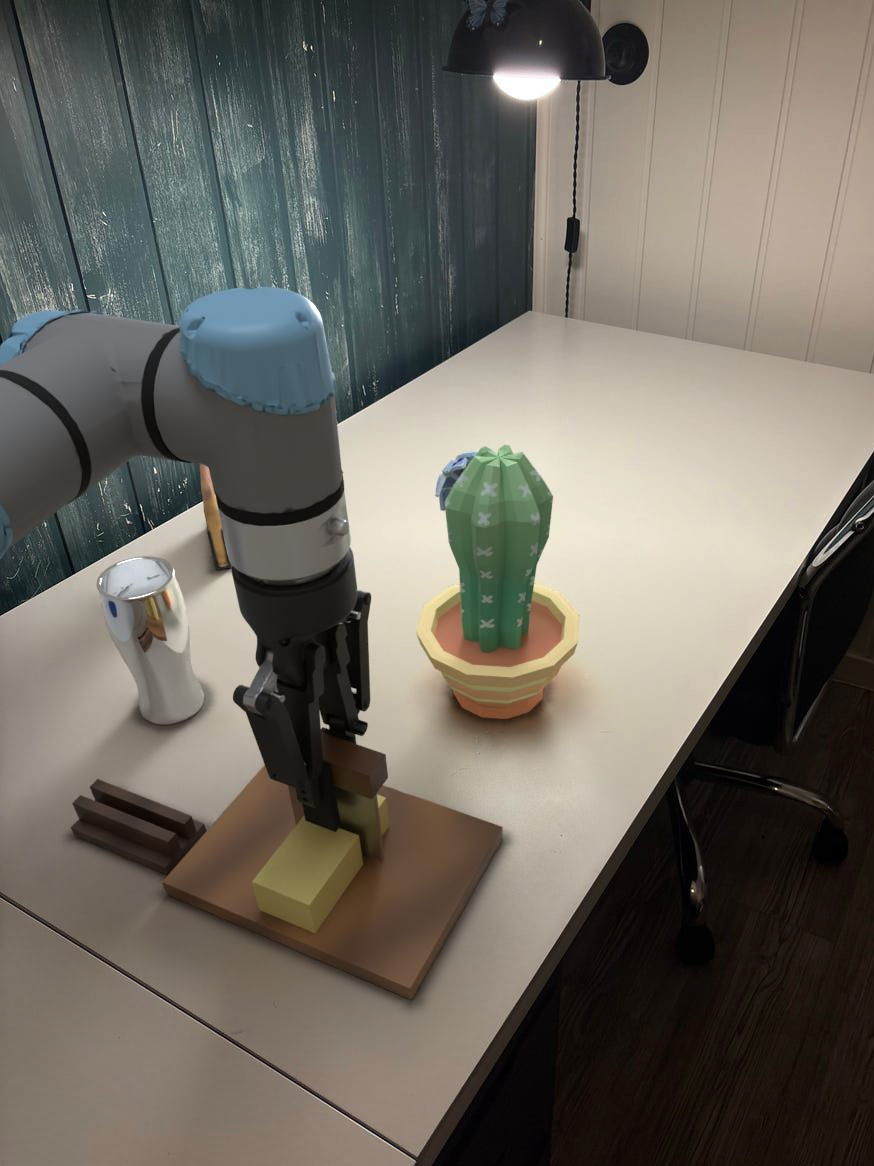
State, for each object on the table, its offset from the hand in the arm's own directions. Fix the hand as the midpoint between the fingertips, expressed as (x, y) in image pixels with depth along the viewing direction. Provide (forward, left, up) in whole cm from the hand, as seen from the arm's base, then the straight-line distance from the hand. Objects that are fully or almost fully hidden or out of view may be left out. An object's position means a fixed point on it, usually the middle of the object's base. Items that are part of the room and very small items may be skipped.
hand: (333, 808), depth 73 cm
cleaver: (0, 0, -4) cm, 4 cm away
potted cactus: (+3, +24, -6) cm, 25 cm away
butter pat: (0, +2, -5) cm, 5 cm away
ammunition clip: (-38, +34, -6) cm, 52 cm away
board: (0, -1, -6) cm, 6 cm away
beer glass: (-25, +9, -6) cm, 27 cm away
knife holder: (-17, -5, -6) cm, 19 cm away
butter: (0, -4, -5) cm, 6 cm away
